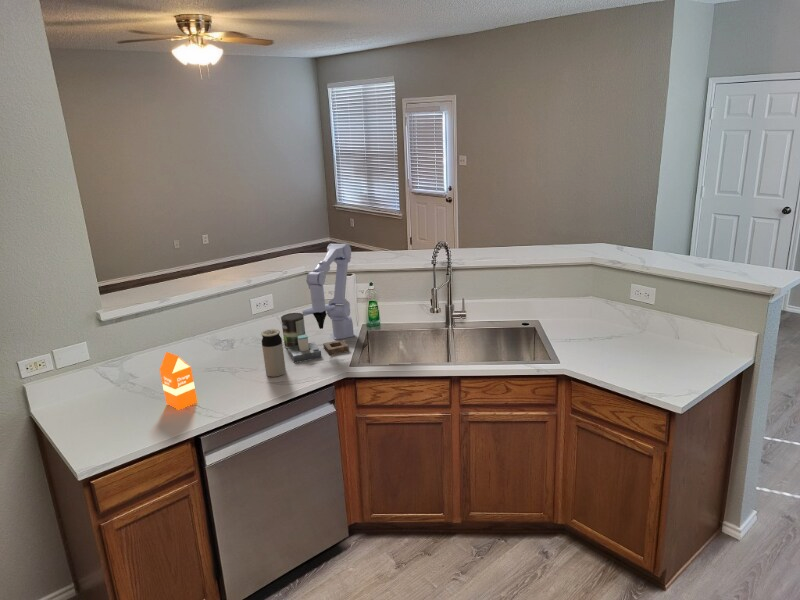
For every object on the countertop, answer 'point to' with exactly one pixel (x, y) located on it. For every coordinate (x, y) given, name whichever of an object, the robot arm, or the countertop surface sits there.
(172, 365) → the orange juice
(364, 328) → the countertop surface
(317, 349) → the port panel
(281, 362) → the travel mug
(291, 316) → the coffee can
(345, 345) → the wooden square frame
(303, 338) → the plug
